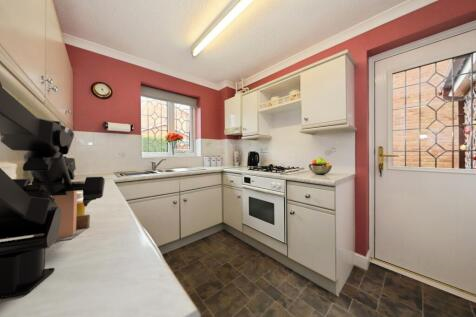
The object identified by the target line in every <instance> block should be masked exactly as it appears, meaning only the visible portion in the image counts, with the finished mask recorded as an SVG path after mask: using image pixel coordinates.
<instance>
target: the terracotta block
mask: <svg viewBox="0 0 476 317" xmlns="http://www.w3.org/2000/svg"><path fill="white" fill-rule="evenodd" d="M77 192H78V191H68V192H67V195H57V196H51V197H52V198H55V201H54V202H55V203H56V204H57V207H60V209H61V219H60V226H59V233H58V238H61V237H67V236H73V235H74V233H75V231H76V214H77Z"/></svg>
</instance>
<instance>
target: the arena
mask: <svg viewBox="0 0 476 317" xmlns="http://www.w3.org/2000/svg"><path fill="white" fill-rule="evenodd" d="M90 218H91V216H90V214H85V215H76V231H75V233H74V235H73V236H67V237H61V238H57V240H56V241H55V242H58V241H59V242H60V241H70V240H73V239H75V237H77V236H78V235H80V234H82V233H83V232H84V231H86V230H87V229H89V228H90V227H91V226H90ZM37 236H44V234H38V235H33V237H37Z"/></svg>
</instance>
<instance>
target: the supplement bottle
mask: <svg viewBox="0 0 476 317" xmlns="http://www.w3.org/2000/svg"><path fill="white" fill-rule="evenodd" d="M85 212H86V207H85V206H84V204H83V191H77V214H76V215H86V213H85Z"/></svg>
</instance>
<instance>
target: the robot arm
mask: <svg viewBox="0 0 476 317" xmlns="http://www.w3.org/2000/svg"><path fill="white" fill-rule="evenodd" d="M74 137H75V132H74V131H73V130H71V129H70V128H69V127H67V126H65V125H63V124H62V123H61V121H58V120H57V121H56V120H48V119H46V118H41V117H38V116H35V115H34V114H33V113H32V112H31V111H30V110H29V109H27V107H25V106H24V105H23V104H22V103H21V102H20V101H19V100H17V99H16V98H15V97H14V96H13V95H12V94H10V93H9V92H8V91H7V90H6V89H5V88H3V84H2V83H1V81H0V143H2V144H3V145H5V146H7V148H8V149H10V150H12V151H19V152H21V151H22V152H26V153H25V154H24V155H23V160H24V163H23V165H22V171H24V172H30V173H31V176H32V178H33V179H32V180H31V178H11V177H10V176H9V174H7V173H6V172H5V171H4V170H3V169H2V168H1V167H0V240H1V241H0V299H4V298H9V297H17V296H22V295H26V294H29V293H30V292H31V291H32V290H33V289H34V288H36V287H37V286H39V285H40V283H42V282H43V281H44V280H45V279H47V277H49V276H50V275H51V274H53V273H54V272H55V267H50V268H49V267H48V268H45V267H46V249H49V248H50V247H51V246H52V245H53V244H54V243H55V242H57V241H56V240H57V238H58V233H59V226H60V219H61V209H60V207H57V204H56V203H55V202H54V201H55V198H52V196H57V195H67V192H68V191H77V192H83V196H82V198H83V204H84V206H85V208H86V207H87V206H88V205H89V203H90V202H92V201H96V200H97V199H101V198H103V196H104V190H105V183H106V182H105V178H104V176H86V177H85V180H84V181H74V179H75V177H76V176H75V173H74V172H75V171H76V169H77V168H76V159H75V158H73V157H65V156H64V155H67V154H68V153H69V152H70V149H71V146H72V142H73V140H74ZM72 180H73V181H72ZM38 234H44V236H37V237H34V235H38ZM28 236H29V237H28ZM23 237H25V238H23ZM8 239H11V240H8ZM3 240H4V241H3Z"/></svg>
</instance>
